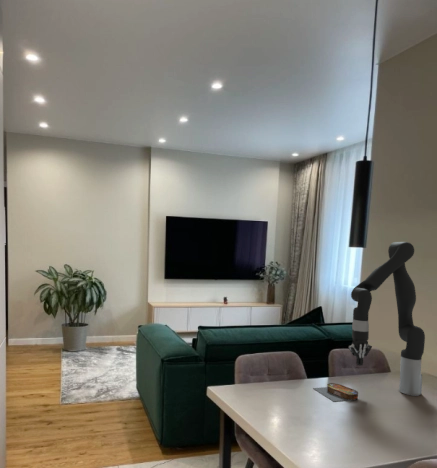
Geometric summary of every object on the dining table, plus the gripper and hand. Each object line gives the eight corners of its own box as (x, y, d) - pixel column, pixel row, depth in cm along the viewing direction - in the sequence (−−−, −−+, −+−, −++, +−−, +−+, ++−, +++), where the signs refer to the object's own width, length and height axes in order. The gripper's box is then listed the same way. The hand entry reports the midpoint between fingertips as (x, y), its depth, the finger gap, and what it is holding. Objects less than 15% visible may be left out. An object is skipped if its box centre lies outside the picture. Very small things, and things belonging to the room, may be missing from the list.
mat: (333, 387, 186) (333, 386, 186) (355, 399, 171) (355, 399, 171) (313, 388, 182) (313, 388, 182) (333, 401, 167) (333, 401, 167)
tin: (362, 392, 173) (351, 394, 168) (361, 399, 173) (350, 401, 168) (334, 382, 185) (323, 383, 180) (333, 388, 185) (323, 390, 180)
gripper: (365, 327, 189) (365, 362, 188) (344, 328, 184) (343, 363, 183) (376, 330, 182) (376, 366, 181) (354, 331, 177) (353, 368, 176)
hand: (359, 365), depth 182 cm, fingers closed
